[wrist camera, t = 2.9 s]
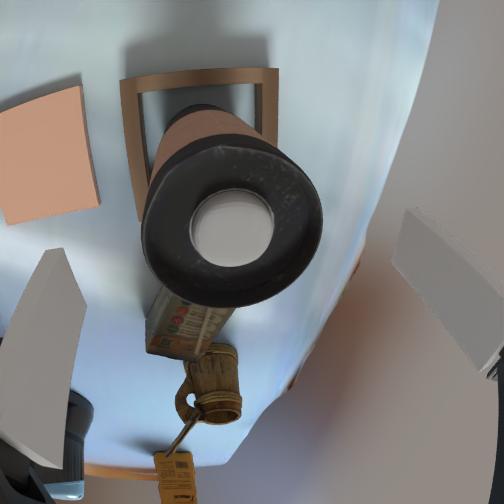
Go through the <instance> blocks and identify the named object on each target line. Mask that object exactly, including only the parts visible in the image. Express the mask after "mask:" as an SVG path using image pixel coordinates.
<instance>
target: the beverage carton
mask: <svg viewBox="0 0 504 504" xmlns="http://www.w3.org/2000/svg"><path fill="white" fill-rule="evenodd" d="M235 309H236V308H232V309H215V308H207V307H202V306H198V305H195V304H191V303H189V302H186V301H184V300H182V299H180V298H178V297H177V296H175V295H174V294H172V293H171V292H169V291H168V290H167V289H166V288H165V287H163V285H162V287H161V289H160V291H159V293H158V295H157V297H156V299H155V301H154V303H153V305H152V308H151V310H150V312H149V314H148V317H147V319H146V321H145V328H146V331H145V336H146V339H145V342H146V352H147V353H148V354H153V355H159V356H164V357H167V358H171V359H175V360H184V361H187V362H192V363H197V362H198V360H199V359H200V358H201V357H202V355H203V354H204V352H205V351H206V350H207V348H208V347H209V345H210V344H211V343H212V341H213V340H214V339H215V337H216V336H217V334H218V333H219V331H220V330H221V329H222V327H223V326H224V324H225V323H226V322H227V320H228V319H229V317H230V316H231V315H232V313H233V312H234V310H235Z"/></svg>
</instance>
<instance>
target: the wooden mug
mask: <svg viewBox="0 0 504 504" xmlns="http://www.w3.org/2000/svg"><path fill="white" fill-rule="evenodd" d="M183 364H184V369H185V373H186V378H185V381H184V382H183V384H182V385H181V387H180V388H179V390H178V392H177V394H176V396H175V407H176V411H177V413H178V415H179V417H180V418H181V419H182V421H183V422H184V424H186V425H185V426H184V428H183V430H182V431H181V432H180V434H179V435H178V437H177V438H176V439H175V441H174V442H173V443H172V445H171V446H170V448H169V449H168V450H167V452H166V453H165V457H166V458H169V457H171V456H172V455H173V454H174V452H175V451H176V449H177V448H178V446H179V445H180V443H181V442H182V440H183V439H184V438H185V436H186V435H187V434H188V432H189V431H190V430H191V429H192V428H193V426H194V425H195V424H196V423H206V424H211V425H223V424H228V423H231V422H234V421H236V420H238V419H239V418H240V417H241V408H242V397H241V396H240V392H239V381H238V368H237V367H238V355H237V351H236V350H235V349H234V348H233V347H231V346H229V345H226V344H221V343H212V344H210V345H209V347H208V348H207V350H206V351H205V352H204V354H203V355H202V357H201V358H200V359H199V360H198V362H197V363H192V362H187V361H184V360H183ZM191 393H193V394H194V395H195V398H196V400H195V401H194V407H195V408H194V407H191V406H189V405H188V403H187V401H186V398H187V396H188V394H191Z"/></svg>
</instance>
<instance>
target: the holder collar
mask: <svg viewBox="0 0 504 504" xmlns="http://www.w3.org/2000/svg"><path fill="white" fill-rule="evenodd" d="M243 83H255V131H256V132H258V133H259V134H260V135H262V136H263V137H264V138H265V139H267V140H268V141H269V142H270V143H271V144H273V145H274V146H275V147H276V148H277V143H278V90H279V68H217V69H201V70H188V71H178V72H169V73H161V74H154V75H147V76H141V77H135V78H129V79H124V80H120V94H121V105H122V115H123V125H124V133H125V141H126V149H127V156H128V163H129V169H130V175H131V181H132V187H133V193H134V198H135V204H136V209H137V214H138V219H139V222H141V221H142V218H143V212H144V207H145V202H146V197H147V193H148V188H149V184H150V179H151V176H150V169H149V161H148V153H147V145H146V136H145V126H144V115H143V104H142V92H149V91H155V90H163V89H171V88H180V87H190V86H202V85H217V84H243Z"/></svg>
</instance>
